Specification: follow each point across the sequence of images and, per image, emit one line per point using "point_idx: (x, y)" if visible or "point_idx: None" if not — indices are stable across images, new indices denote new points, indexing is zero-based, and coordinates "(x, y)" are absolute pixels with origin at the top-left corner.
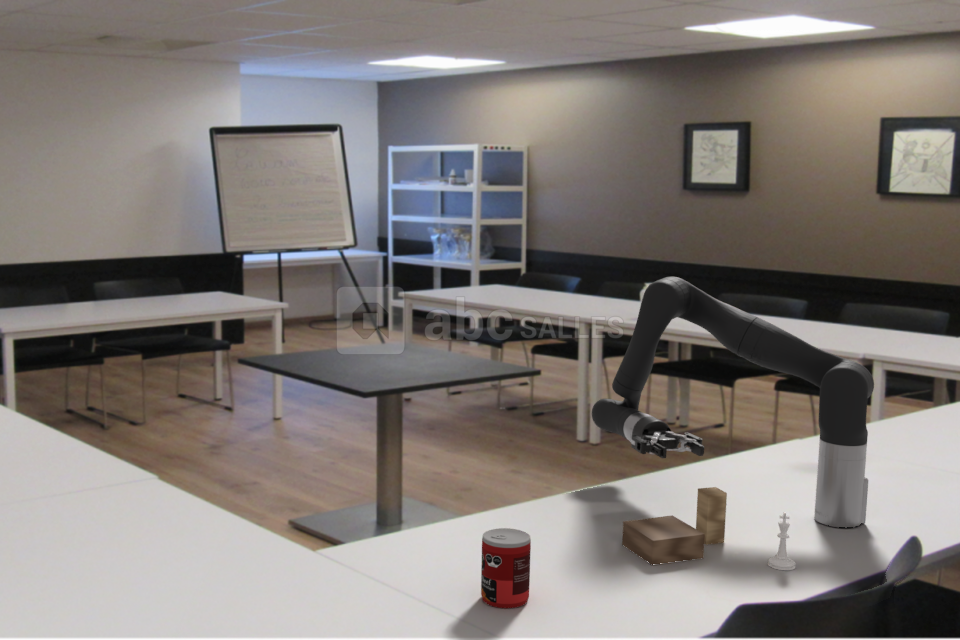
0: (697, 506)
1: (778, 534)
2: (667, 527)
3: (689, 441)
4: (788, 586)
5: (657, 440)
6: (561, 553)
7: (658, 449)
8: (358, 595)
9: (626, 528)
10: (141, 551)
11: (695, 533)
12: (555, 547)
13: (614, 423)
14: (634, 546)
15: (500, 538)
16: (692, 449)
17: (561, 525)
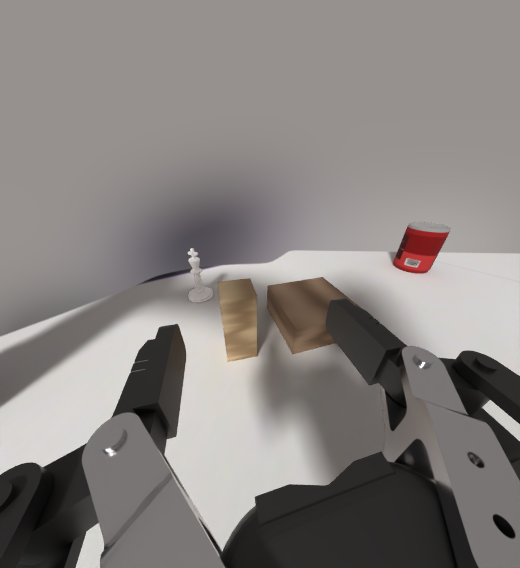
0: (256, 319)
1: (200, 270)
2: (306, 298)
3: (152, 443)
4: (221, 274)
5: (415, 406)
6: (418, 318)
7: (362, 309)
8: (510, 271)
9: None
10: None
11: (277, 286)
12: (437, 332)
13: None
14: None
15: (431, 226)
16: (173, 413)
17: (506, 420)
